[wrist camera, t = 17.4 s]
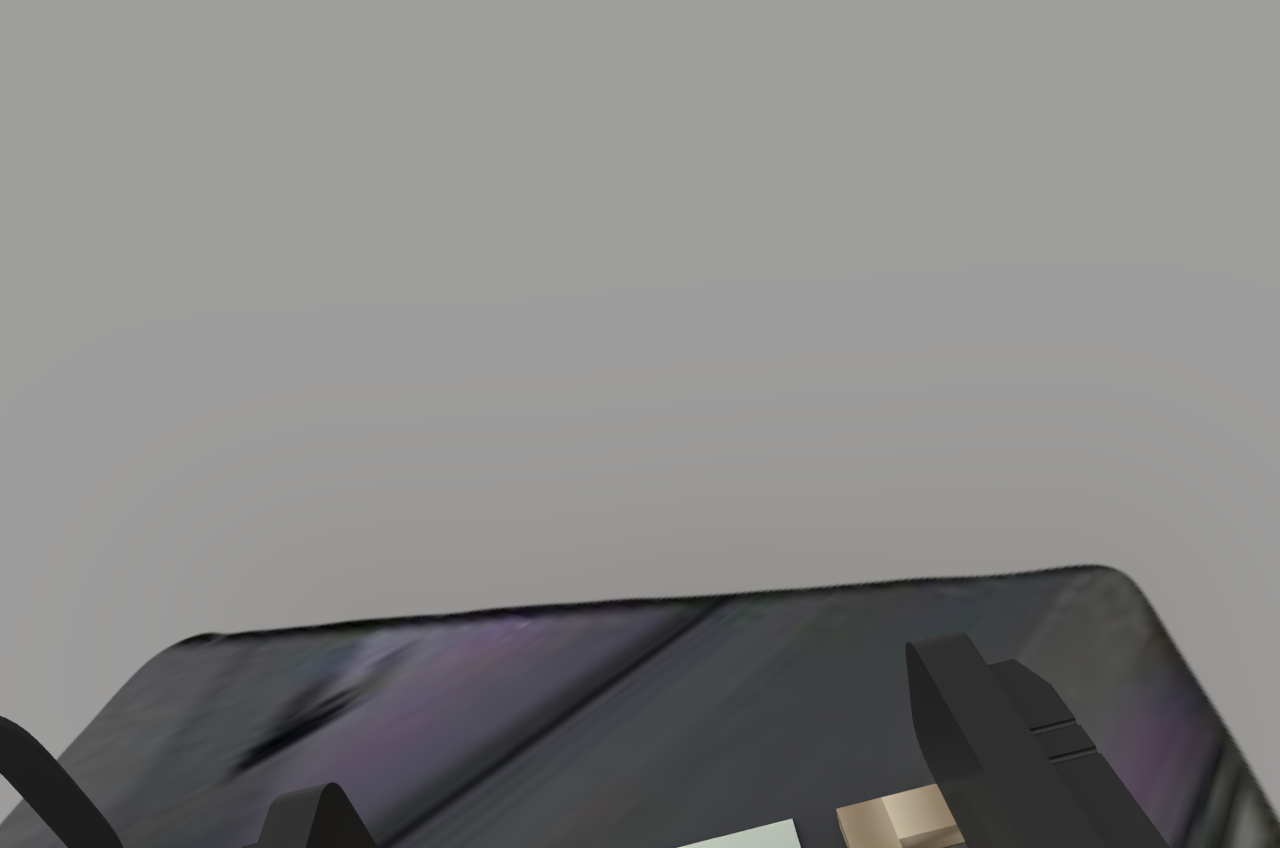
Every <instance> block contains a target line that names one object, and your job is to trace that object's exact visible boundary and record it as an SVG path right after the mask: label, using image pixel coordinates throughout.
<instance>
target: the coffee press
mask: <svg viewBox="0 0 1280 848" xmlns="http://www.w3.org/2000/svg"><path fill="white" fill-rule="evenodd" d="M0 773H1V774H2V775H3V776H4V777H5V778H6V779H7V780H8V781H9V783H10V784H11V785H12V786H13V787H14V788H15V789H16V790H17V791H18V792H19V793H20V795H21V796H22V797H23V798H24V799H25V800H26V801H27V802H28V803H29V804H30V806H31V807H32V808H33V809H34V810H35V811H36V812H37V813H38V814H39V816H40V817H41V818H42V819H43V820H44V821H45V822H46V823H47V825H48V826H49V827H50V828H51V829H52V830H53V831H54V832H55V833H56V835H57V836H58V837H59V838H60V839H61V840H62V841H63V842H64V843H65V845H66V846H67V847H68V848H123V846H122V844H121V842H120V840H119V838H118V836H117V835H116V833H115V832H114V830H113V829H112V827H111V826H110V824H109V823H108V822H107V820H106V819H105V818H104V817H103V815H102V814H101V813H100V811H99V810H98V809H97V808H96V807H95V805H94V804H93V803H92V802H91V801H90V799H89V798H88V797H87V796H86V795H85V793H84V792H83V791H82V790H81V789H80V788H79V786H78V785H77V784H76V783H75V782H74V780H73V779H72V778H71V777H70V776H69V775H68V773H67V772H66V771H65V770H64V769H63V768H62V767H61V765H60V764H59V763H58V762H57V761H56V760H55V759H54V758H53V756H52V755H51V754H50V753H49V752H48V751H47V750H46V749H45V748H44V747H43V746H42V745H41V744H40V743H39V742H38V741H37V740H36V739H35V738H34V737H33V736H32V735H31V734H30V733H28V732H27V731H26V730H24V729H23V728H22V727H20V726H19V725H17V724H16V723H14V722H12V721H10V720H8V719H6V718H4V717H1V716H0Z"/></svg>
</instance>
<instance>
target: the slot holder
mask: <svg viewBox="0 0 1280 848" xmlns="http://www.w3.org/2000/svg"><path fill="white" fill-rule="evenodd" d="M836 810H837V815H838V820H839V825H840V829H841V832H842V834H843V837H844V840H845V843H846V846H847V848H943V847H947V846H951V845H955V844H958V843H962V842H965V840H964V838H963V836H962V834H961V832H960V830H959V828H958V826H957V824H956V822H955V820H954V818H953V816H952V814H951V812H950V810H949V808H948V806H947V804H946V802H945V800H944V798H943V796H942V794H941V792H940V790H939V788H938V786H937V784H933V785H929V786H925V787H921V788H917V789H913V790H909V791H905V792H901V793H897V794H893V795H889V796H885V797H881V798H877V799H873V800H870V801H866V802H862V803H858V804H854V805H850V806H846V807H842V808H838V809H836Z"/></svg>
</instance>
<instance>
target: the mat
mask: <svg viewBox="0 0 1280 848" xmlns="http://www.w3.org/2000/svg"><path fill="white" fill-rule="evenodd" d="M679 848H801V847H800V843H799V840H798V837H797V833H796V830H795V827H794V823H793V820H792V819H789V820H785V821H781V822H777V823H773V824H769V825H765V826H761V827H757V828H753V829H750V830H746V831H742V832H738V833H734V834H730V835H726V836H722V837H718V838H714V839H710V840H706V841H702V842H698V843H694V844H690V845H687V846H683V847H679Z"/></svg>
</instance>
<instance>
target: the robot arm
mask: <svg viewBox="0 0 1280 848" xmlns="http://www.w3.org/2000/svg"><path fill="white" fill-rule="evenodd" d="M906 661H907V670H908V680H909V689H910V699H911V709H912V718H913V723H914V728H915V732H916V735H917V739H918V742H919V745H920V748H921V751H922V753H923V756H924V758H925V761H926V763H927V765H928V767H929V769H930V771H931V773H932V775H933V777H934V779H935V781H936V783H937V786H938V788H939V790H940V792H941V794H942V796H943V798H944V800H945V802H946V804H947V806H948V808H949V810H950V812H951V814H952V816H953V818H954V820H955V822H956V824H957V826H958V828H959V830H960V832H961V834H962V836H963V838H964V840H965V842H966V844H967V846H968V848H1170V847H1169V846H1168V844H1167V843H1166V842H1165V840H1164V839H1163V837H1162V836H1161V835H1160V833H1159V832H1158V831H1157V829H1156V828H1155V826H1154V825H1153V824H1152V822H1151V821H1150V820H1149V818H1148V817H1147V816H1146V814H1145V813H1144V811H1143V810H1142V809H1141V807H1140V806H1139V805H1138V803H1137V802H1136V800H1135V799H1134V798H1133V796H1132V795H1131V794H1130V792H1129V791H1128V789H1127V788H1126V787H1125V785H1124V784H1123V783H1122V781H1121V780H1120V779H1119V777H1118V776H1117V774H1116V773H1115V772H1114V770H1113V769H1112V768H1111V766H1110V765H1109V763H1108V762H1107V761H1106V759H1105V758H1104V757H1103V755H1102V754H1101V753H1100V754H1099V753H1098V751H1097V749H1096V746H1095V744H1094V743H1093V742H1092V740H1091V739H1090V737H1089V736H1088V735H1087V733H1086V732H1085V731H1084V729H1083V728H1082V727H1081V725H1078V724H1077V722H1076V720H1075V717H1074V716H1073V714H1072V713H1071V711H1070V710H1069V709H1068V707H1067V706H1066V705H1065V703H1064V702H1063V701H1062V699H1061V698H1060V696H1059V695H1058V694H1057V692H1056V691H1055V690H1054V688H1053V687H1052V685H1051V684H1050V683H1048V682H1047V681H1045V680H1044V679H1042V678H1041V677H1039V676H1038V675H1037V674H1035V673H1034V672H1032V671H1031V670H1029V669H1028V668H1026V667H1025V666H1024V665H1022V664H1021V663H1019V662H1018V661H1016V660H1015V659H1012V660H1007V661H1003V662H999V663H995V664H991V665H987V664H986V662H985V661H984V659H983V658H982V656H981V655H980V653H979V652H978V650H977V649H976V647H975V646H974V644H973V643H972V641H971V640H970V638H969V637H968V636H967V634H966V633H965V632H964V631H962V630H955V631H951V632H947V633H943V634H939V635H935V636H931V637H927V638H923V639H919V640H915V641H910V642H907V643H906ZM242 848H378V847H377V845H376V843H375V842H374V840H373V838H372V837H371V835H370V834H369V832H368V830H367V829H366V827H365V825H364V824H363V822H362V820H361V819H360V817H359V815H358V814H357V812H356V811H355V809H354V807H353V806H352V804H351V802H350V801H349V799H348V797H347V796H346V794H345V792H344V791H343V789H342V788H341V787H340V786H339V785H338V784H336V783H328V784H324V785H320V786H316V787H312V788H308V789H303V790H299V791H295V792H291V793H287V794H283V795H280V796H278V797H277V798H276V799H275V800H274V801H273V803H272V804H271V806H270V809H269V811H268V814H267V817H266V820H265V823H264V826H263V829H262V832H261V835H260V838H259V840H258V843H255V844H251V845H247V846H243V847H242Z"/></svg>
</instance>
